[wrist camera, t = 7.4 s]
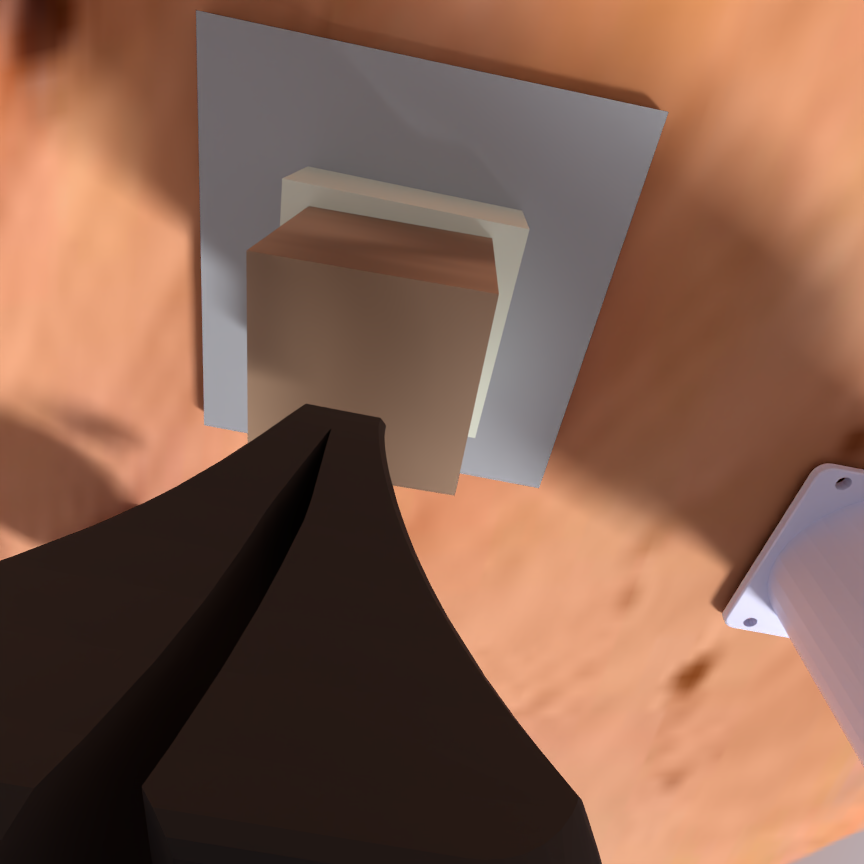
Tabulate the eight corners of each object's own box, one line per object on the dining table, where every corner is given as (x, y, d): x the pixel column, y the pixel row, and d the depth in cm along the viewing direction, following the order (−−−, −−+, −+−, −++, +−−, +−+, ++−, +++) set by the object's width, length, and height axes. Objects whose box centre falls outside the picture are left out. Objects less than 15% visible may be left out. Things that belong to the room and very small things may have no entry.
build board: (662, 111, 15) (668, 112, 15) (537, 478, 21) (538, 488, 21) (205, 13, 15) (195, 10, 14) (210, 416, 21) (204, 425, 20)
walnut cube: (492, 237, 14) (498, 294, 10) (459, 400, 17) (454, 495, 13) (308, 205, 14) (245, 251, 10) (301, 373, 16) (248, 461, 13)
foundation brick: (522, 210, 16) (529, 229, 14) (475, 399, 19) (475, 438, 17) (308, 166, 16) (281, 178, 14) (294, 364, 19) (271, 399, 17)
